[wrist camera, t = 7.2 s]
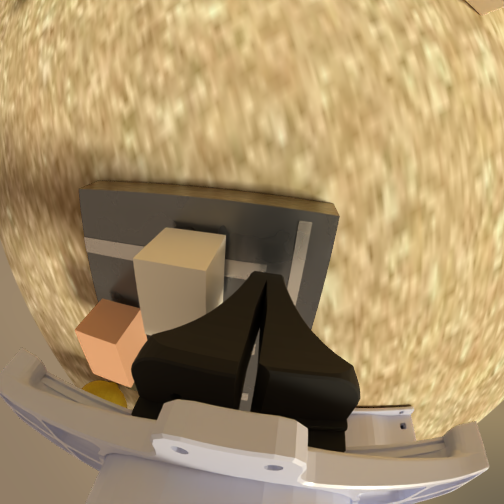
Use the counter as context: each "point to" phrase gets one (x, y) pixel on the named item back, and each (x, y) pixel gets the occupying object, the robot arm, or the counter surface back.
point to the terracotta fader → (112, 340)
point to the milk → (486, 5)
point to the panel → (210, 221)
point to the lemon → (106, 391)
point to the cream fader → (179, 277)
